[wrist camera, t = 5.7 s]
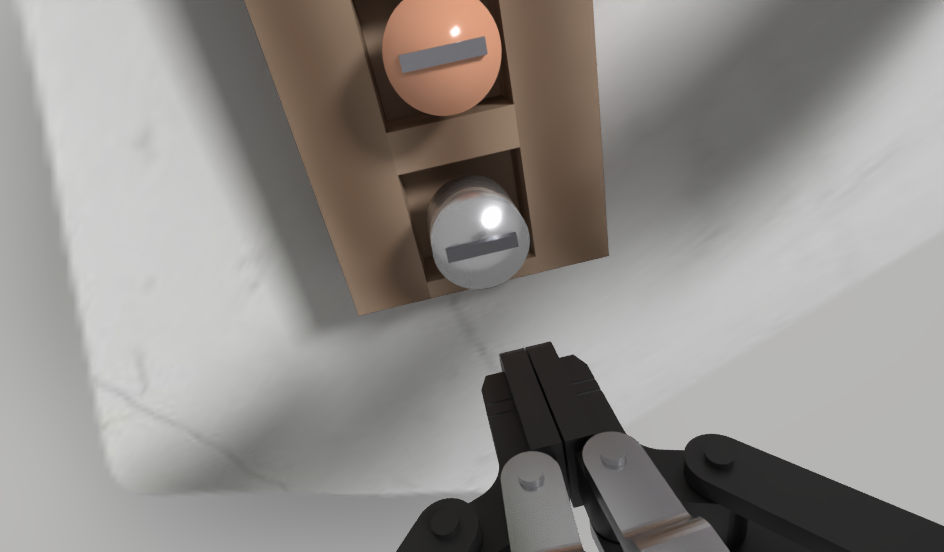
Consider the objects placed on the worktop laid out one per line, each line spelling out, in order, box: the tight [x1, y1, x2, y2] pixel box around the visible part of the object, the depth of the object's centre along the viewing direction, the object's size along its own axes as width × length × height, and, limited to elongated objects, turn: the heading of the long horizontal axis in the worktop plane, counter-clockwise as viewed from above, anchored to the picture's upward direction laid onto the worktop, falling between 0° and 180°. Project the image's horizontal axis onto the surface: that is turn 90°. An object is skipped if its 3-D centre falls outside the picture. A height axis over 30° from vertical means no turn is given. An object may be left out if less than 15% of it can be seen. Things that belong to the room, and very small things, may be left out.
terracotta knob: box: [382, 0, 502, 116], centre depth 20 cm, size 4×4×4 cm
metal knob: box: [427, 175, 530, 289], centre depth 24 cm, size 4×4×4 cm
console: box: [244, 0, 609, 315], centre depth 24 cm, size 14×24×6 cm, turn 11°
